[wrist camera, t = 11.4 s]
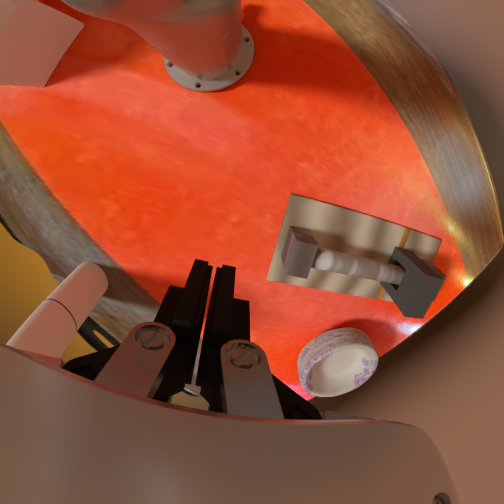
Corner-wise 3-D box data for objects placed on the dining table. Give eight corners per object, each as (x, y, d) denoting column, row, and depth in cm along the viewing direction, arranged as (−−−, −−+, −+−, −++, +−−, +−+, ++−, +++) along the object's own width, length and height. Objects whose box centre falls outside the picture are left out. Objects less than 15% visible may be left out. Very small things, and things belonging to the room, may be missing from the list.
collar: (379, 282, 43) (404, 316, 34) (394, 246, 41) (426, 275, 32) (396, 286, 44) (422, 318, 35) (411, 251, 41) (443, 279, 32)
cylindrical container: (111, 271, 43) (35, 373, 21) (105, 301, 46) (42, 400, 23) (79, 255, 42) (-6, 342, 19) (75, 285, 44) (4, 372, 22)
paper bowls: (361, 362, 54) (372, 388, 47) (296, 375, 54) (301, 404, 47) (370, 309, 48) (385, 336, 40) (292, 323, 48) (299, 354, 41)
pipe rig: (266, 276, 44) (270, 301, 38) (290, 193, 39) (299, 205, 32) (409, 301, 47) (425, 322, 41) (438, 238, 42) (460, 253, 35)
